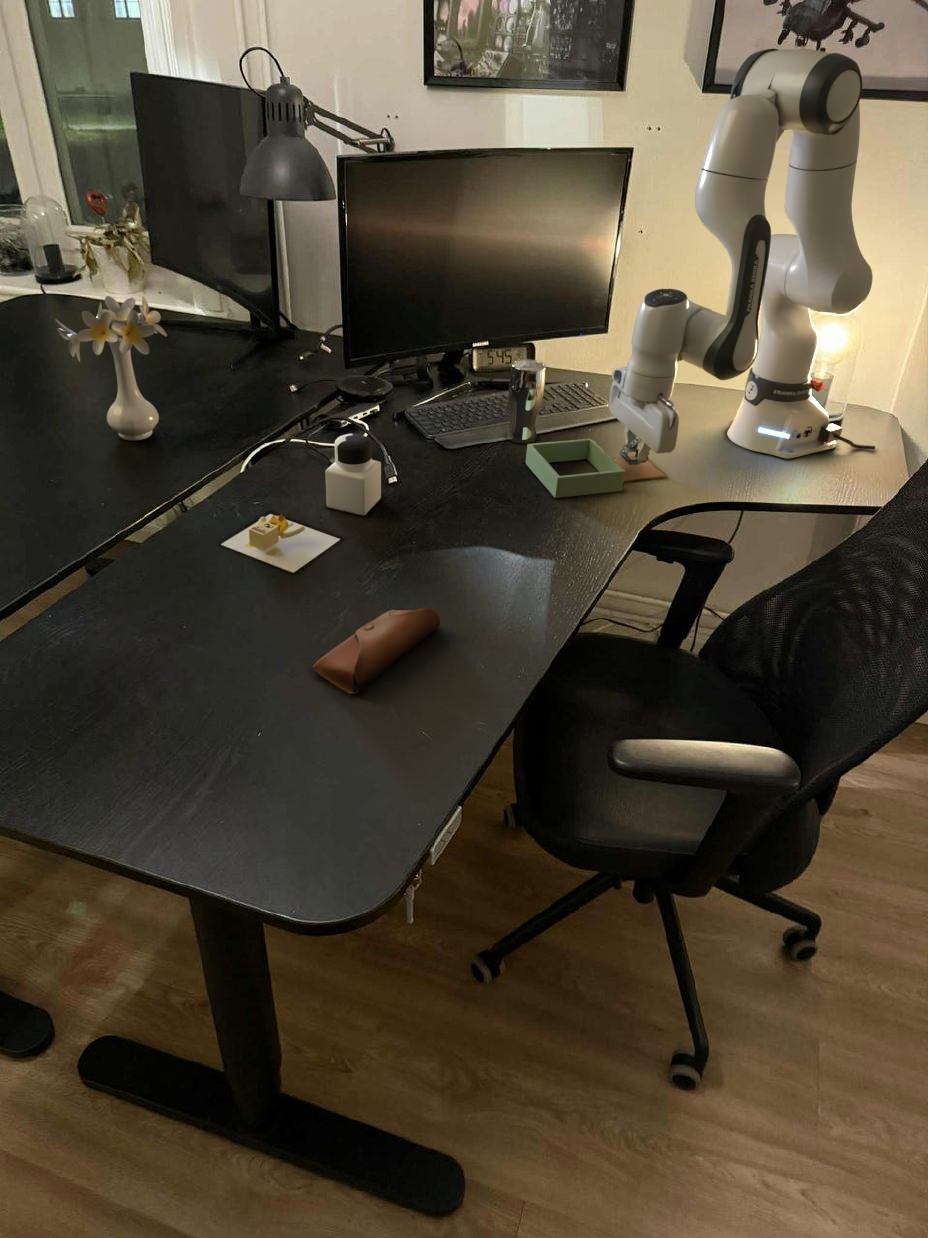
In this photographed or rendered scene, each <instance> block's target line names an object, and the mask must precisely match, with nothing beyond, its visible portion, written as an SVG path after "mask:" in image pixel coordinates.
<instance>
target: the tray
mask: <svg viewBox="0 0 928 1238" xmlns="http://www.w3.org/2000/svg"><path fill="white" fill-rule="evenodd" d="M526 444H527V445H526V453H525V465H526V466H527V468H529V469H530V470H531V472H532V474H533V475H535V476H536V478H537V479H538V480H539V481H540V482H541V483H542V485H543V486H544V487H545V488H546V490H548V492H549V493H550V494H551V495H552V496H553V497H554V498H555V499H559V498H569V497H578V496H587V495H597V494H605V493H614V492H622V491H623V487H624V486H623V485H624V482H623V481H624V476H625V470H624V469H623V468H622V467H620V466H619V465H618V464H617V463H616V462H615V461H614V460H613V458H612V457H611V456H610V455H609V454H608V453H607V452H606V451H605V450H604V449H603V448H602V447H601V446H600V445H599V444H598V443H597V442H596V441H595V440H594V439H593V438H582V439H580V438H579V439H571V440H559V441H548V442H536V443H535V442H534V443H526ZM579 460H580V461H581V460H587V461H588V462H589V463H590V464H591V465H592V466H593V467H594V468H595V469H596V470H597V471H595V472H586V473H585V472H584V473H576V474H565V475H560V474H558V473H557V471H556V470H555V469H554V468H553V466H551V465H550V464H551V463H558V462H560V463H561V462H570V461H579Z"/></svg>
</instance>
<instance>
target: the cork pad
mask: <svg viewBox="0 0 928 1238" xmlns="http://www.w3.org/2000/svg"><path fill="white" fill-rule="evenodd" d="M628 457H629V458H630V459H632V460H634V459H636V458H635V455H633V456H628ZM612 459H613V460H614V461H615V462H616V463H617V464H618V465H619V466H620V467H622V468H623V469H624V470H625V476H624V481H623V483H626V482H627V483H628V482H636V481H645V480H656V479H664V478H666V475H665V474H664V473H663V472H662V471H661V470H659V469H658V467H656V466H655V465H654V464H653V463H652V462H651V461H650V460H649V459H648V460H647V461H646V462H645V463H644V462H643V463H640V464H639V465H630V464H628V463H627V462H626V461H625V460H624V459H623V458H622V457H615V458H614V457H613V458H612Z"/></svg>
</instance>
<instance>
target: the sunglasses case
mask: <svg viewBox="0 0 928 1238" xmlns="http://www.w3.org/2000/svg"><path fill="white" fill-rule="evenodd" d="M440 626H441V617H440V615H439V613H438V612H437V610H436V609H434V608H432V607H421V608H417V609H390V610H387V611H386V612H384V613H383V614H381V615H379V616H378V617H376V618H375V619H374V620H371V621H370V622H367V623H366V624H364V625H363V626H361V627H360V628H358V629H357V630H356V631H355V632H354V634H352V635H350V636H349V637H348V638H347V639H346V640H343V641H342V642H341V643H339V644H337V646H335V647H334V648H332V649H331V650H330V651H328V652H327V653H326V654H324V655H323V656H322V657H321V658H320V659H318V660H317V661H316V662H315V663H314V664H313V665H312V670H313V672H315V673H316V674H317V675H318V676H320V677H321V678H322V679H324V680H325V681H327V682H328V683H330V684H332V685H333V686H335V687H337V688H338V689H340V690H341V691H343V692H345V693H347V694H348V695H356V694H357V693H359V692H361V691H363V690H364V689H365V688H366V687H367V686H368V685H370V684H371V683H372V682H373V681H374V680H375V679H376V678H377V677H379V676H380V675H381V674H382V673H383V672H384V671H386V670H387V669H388V668H389V667H390V666H391V665H392V664H393V663H395V662H396V661H397V660H399V659H400V658H401V657H402V656H403V655H405V654H406V653H407V652H408V651H410V650H411V649H412V648H413V647H415V646H416V645H417V644H419V643H420V642H421V641H422V640H424V639H425V638H427V636H429V635H430V634H432V633H433V632H434V631H435V630H436V629H438V628H439V627H440Z"/></svg>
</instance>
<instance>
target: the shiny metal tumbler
mask: <svg viewBox="0 0 928 1238" xmlns="http://www.w3.org/2000/svg"><path fill="white" fill-rule="evenodd" d="M546 371H547V366H546V364H545V363H543V362H542V361H540V360H536V359H532V358H531V359H529V358H522V359H521V358H520V359H516V360H514V361H513V362H512V363H511V370H510V376H509V382H508V403H509V404H508V405H509V425H508V429H507V432H506V438H507V439H508V440H509V441H511V442H513V443H517V444H533V443H535V441H536V440H537V438H538V436H537V435H538V434H537V420H538V417H539V412H540V409H541V406H542V402H543V398H544V395H545V388H546Z"/></svg>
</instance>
